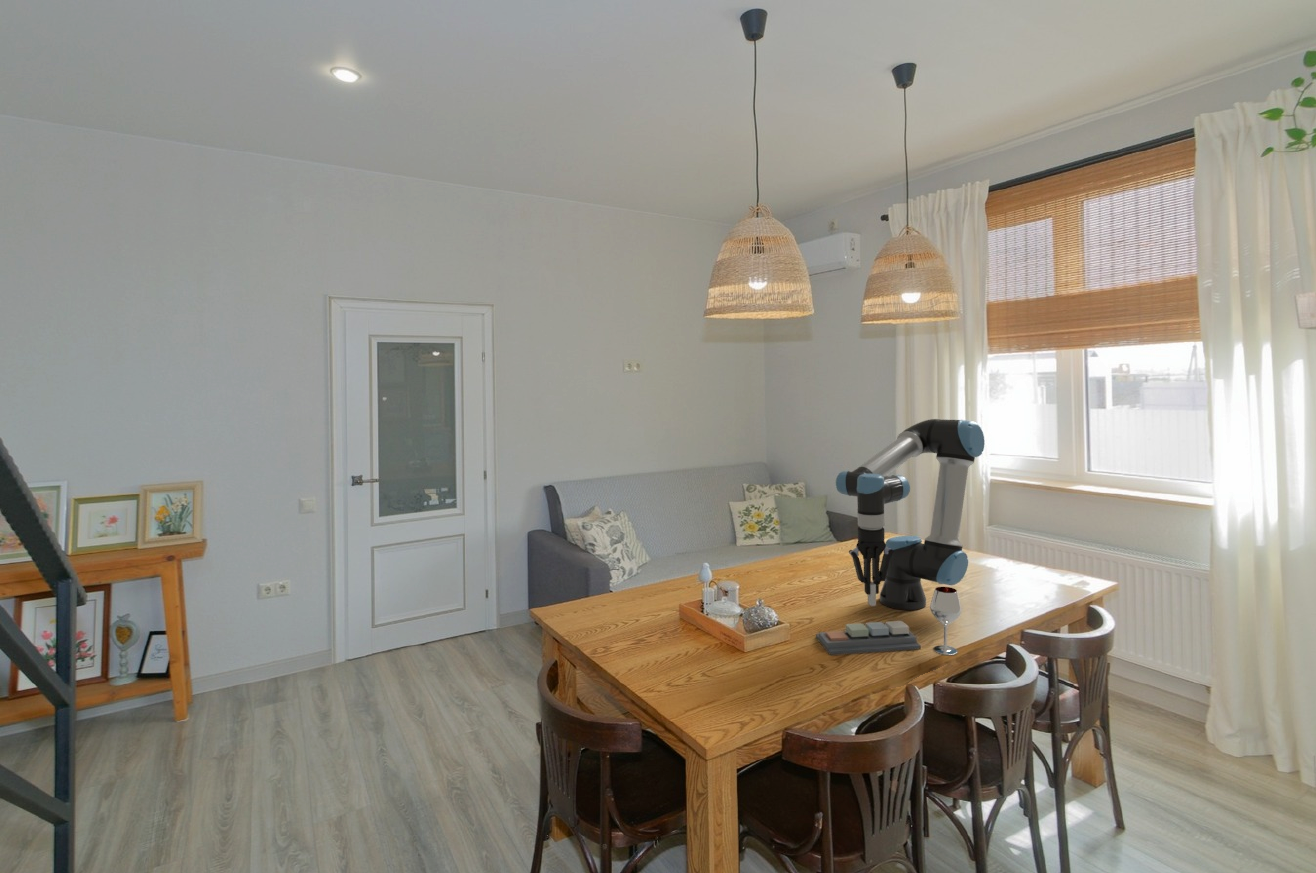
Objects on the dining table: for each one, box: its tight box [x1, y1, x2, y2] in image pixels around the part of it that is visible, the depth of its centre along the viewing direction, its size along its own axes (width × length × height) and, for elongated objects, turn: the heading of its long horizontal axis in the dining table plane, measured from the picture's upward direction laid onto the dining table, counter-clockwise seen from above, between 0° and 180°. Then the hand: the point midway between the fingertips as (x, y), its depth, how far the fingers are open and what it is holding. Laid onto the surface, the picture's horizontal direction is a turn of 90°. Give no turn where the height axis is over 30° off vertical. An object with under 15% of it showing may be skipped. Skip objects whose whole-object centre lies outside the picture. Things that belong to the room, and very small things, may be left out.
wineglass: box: [929, 586, 962, 656], centre depth 193 cm, size 8×8×18 cm
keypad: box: [815, 630, 922, 656], centre depth 200 cm, size 27×13×2 cm, turn 95°
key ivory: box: [885, 620, 910, 634], centre depth 201 cm, size 5×5×2 cm
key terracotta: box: [825, 630, 848, 641], centre depth 199 cm, size 5×5×2 cm
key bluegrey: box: [865, 621, 889, 636], centre depth 200 cm, size 5×5×2 cm
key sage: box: [845, 622, 868, 637], centre depth 200 cm, size 5×5×2 cm
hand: (871, 604), depth 200 cm, fingers closed
